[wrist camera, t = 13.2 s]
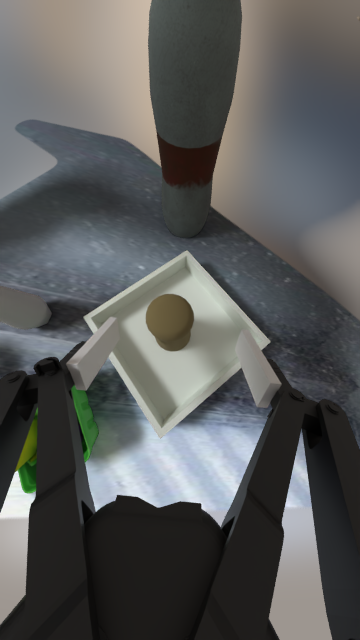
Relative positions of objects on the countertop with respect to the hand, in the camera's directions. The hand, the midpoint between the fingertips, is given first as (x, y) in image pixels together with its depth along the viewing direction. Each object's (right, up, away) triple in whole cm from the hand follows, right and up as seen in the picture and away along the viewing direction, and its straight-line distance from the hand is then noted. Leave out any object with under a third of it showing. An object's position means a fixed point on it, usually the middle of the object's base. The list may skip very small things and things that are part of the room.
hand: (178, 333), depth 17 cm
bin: (0, -1, +10) cm, 10 cm away
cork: (-1, -1, +9) cm, 9 cm away
